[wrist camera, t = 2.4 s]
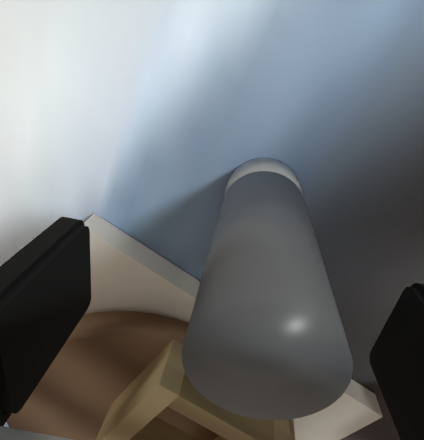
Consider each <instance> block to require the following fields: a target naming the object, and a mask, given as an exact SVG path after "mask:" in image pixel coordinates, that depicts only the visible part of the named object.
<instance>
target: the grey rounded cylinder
mask: <svg viewBox="0 0 424 440" xmlns="http://www.w3.org/2000/svg"><path fill="white" fill-rule="evenodd" d="M182 363H183V367H184V370H185V373H186V375H187V377H188V379H189V380H190V382H191V383H192V385H193V386H194V387H195V388H196V390H198V391H199V392H200V393H201V394H202V395H203V396H204V397H205V398H207V399H208V400H209V401H211V402H212V403H214V404H215V405H217V406H219V407H221V408H223V409H225V410H227V411H230V412H232V413H235V414H238V415H241V416H245V417H250V418H255V419H262V420H289V419H296V418H301V417H305V416H308V415H312V414H314V413H317V412H319V411H321V410H323V409H325V408H327V407H329V406H330V405H331V404H333V403H334V402H335V401H337V400H338V399H339V398H340V397H341V396H342V395H343V393H344V392H345V391H346V389H347V388H348V386H349V384H350V382H351V378H352V375H353V358H352V355H351V351H350V348H349V345H348V341H347V338H346V335H345V332H344V328H343V325H342V322H341V319H340V315H339V312H338V309H337V305H336V302H335V299H334V296H333V292H332V289H331V286H330V282H329V279H328V276H327V273H326V269H325V266H324V263H323V260H322V256H321V253H320V250H319V246H318V243H317V240H316V237H315V233H314V230H313V227H312V223H311V220H310V217H309V214H308V210H307V207H306V204H305V201H304V197H303V194H302V191H301V187H300V184H299V181H298V178H297V176H296V175H295V173H294V172H293V171H292V169H291V168H290V167H288V166H287V165H286V164H284V163H283V162H281V161H278V160H275V159H271V158H256V159H252V160H249V161H247V162H245V163H243V164H242V165H240V166H239V167H238V168H237V169H236V170H235V171H234V172H233V173H232V175H231V176H230V178H229V180H228V183H227V187H226V190H225V194H224V198H223V201H222V205H221V209H220V212H219V216H218V220H217V223H216V227H215V231H214V234H213V238H212V242H211V245H210V249H209V253H208V256H207V260H206V263H205V267H204V271H203V274H202V278H201V282H200V285H199V289H198V293H197V296H196V300H195V304H194V307H193V311H192V315H191V318H190V322H189V326H188V329H187V333H186V337H185V340H184V344H183V349H182Z"/></svg>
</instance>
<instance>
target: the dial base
mask: <svg viewBox="0 0 424 440" xmlns="http://www.w3.org/2000/svg"><path fill="white" fill-rule="evenodd" d="M84 225H85V226H88V227H89V230H90V265H91V302H90V305H89V307H88V309H87V311H86V312H85V314H90V313H96V312H106V311H134V312H143V313H152V314H157V315H162V316H166V317H171V318H175V319H178V320H181V321H185V322H188V323H189V322H190V318H191V315H192V311H193V307H194V304H195V300H196V296H197V293H198V289H199V285H200V281H199V280H197V279H196V278H194V277H192V276H191V275H189V274H188V273H186V272H185V271H183V270H182V269H180V268H178V267H177V266H175V265H174V264H172V263H171V262H169V261H168V260H166V259H164V258H163V257H161V256H160V255H158V254H157V253H155V252H154V251H152V250H150V249H149V248H147V247H146V246H144V245H143V244H141V243H140V242H138V241H137V240H135V239H133V238H132V237H130V236H129V235H127V234H126V233H124V232H123V231H121V230H119V229H118V228H116V227H115V226H113V225H112V224H110V223H109V222H107V221H105V220H104V219H102V218H101V217H99V216H98V215H96V214H95V213H94V214H93V215H92V216H91V217H89V218H88V219H87V220H86V221H85V222H84ZM85 314H84V315H85ZM382 417H383V416H382V413H381V410H380V407H379V404H378V401H377V398H376V395H375V394H374V393H373V392H371V391H370V390H368V389H366V388H365V387H363V386H362V385H360V384H359V383H357V382H356V381H354V380H352V379H351V382H350V384H349V386H348V388H347V389H346V391H345V392H344V393H343V395H342V396H341V397H340V398H339V399H338V400H337V401H335V402H334V403H333V404H331V405H330V406H329V407H327V408H325V409H323V410H321V411H319V412H317V413H314V414H312V415H308V416H305V417H301V418H296V419H293V420H294V431H295V440H341V439H343V438H344V437H346V436H348V435H350V434H352V433H354V432H356V431H358V430H359V429H361V428H363V427H365V426H367V425H369V424H371V423H373V422H374V421H376V420H378V419H380V418H382Z"/></svg>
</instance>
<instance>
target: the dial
mask: <svg viewBox="0 0 424 440" xmlns="http://www.w3.org/2000/svg"><path fill="white" fill-rule="evenodd" d="M188 326H189V323H188V322H185V321H181V320H178V319H175V318H171V317H166V316H162V315H157V314H152V313H143V312H134V311H106V312H96V313H90V314H85V315H83V317H82V318H81V320H80V321H79V323H78V324H77V326H76V327H75V329H74V330H73V332H72V333H71V335H70V336H69V338H68V339H67V341H66V343H65V344H64V346H63V347H62V349H61V350H60V352H59V353H58V355H57V356H56V358H55V359H54V361H53V362H52V364H51V365H50V367H49V368H48V370H47V371H46V373H45V374H44V376H43V377H42V379H41V380H40V382H39V383H38V385H37V386H36V388H35V389H34V391H33V392H32V394H31V395H30V397H29V399H28V400H27V402H26V403H25V405H24V406H23V407H22V409H21V410H20V411H19V412H18V413H16V414H14V413H12V414H11V415H10V417H9V418H8V420H7V423H8V425H9V427H10V428H14V429H20V430H25V431H31V432H36V433H42V434H47V435H53V436H58V437H63V438H68V439H73V440H295V431H294V420H293V419H289V420H262V419H255V418H250V417H245V416H241V415H238V414H235V413H232V412H230V411H227V410H225V409H223V408H221V407H219V406H217V405H215V404H214V403H212V402H211V401H209V400H208V399H207V398H205V397H204V396H203V395H202V394H201V393H200V392H199V391H198V390H196V388H195V387H194V386H193V385H192V383H191V382H190V380H189V379H188V377H187V375H186V373H185V370H184V367H183V363H182V349H183V344H184V340H185V337H186V333H187V329H188Z"/></svg>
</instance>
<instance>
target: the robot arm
mask: <svg viewBox="0 0 424 440" xmlns="http://www.w3.org/2000/svg"><path fill="white" fill-rule="evenodd" d="M90 302H91V265H90V230H89V227H88V226H85V225H84V222H83V221H82V220H77V219H72V218H66V217H61V218H59V219H58V220H57V221H56V222H54V223H53V224H52V225H51V226H50V227H48V228H47V229H46V230H45V231H43V232H42V233H41V234H40V235H38V236H37V237H36V238H35V239H34V240H32V241H31V242H30V243H29V244H27V245H26V246H25V247H24V248H22V249H21V250H20V251H19V252H18V253H16V254H15V255H14V256H13V257H11V258H10V259H9V260H8V261H6V262H5V263H4V264H3V265H2V266H0V440H73V439H68V438H63V437H58V436H53V435H47V434H42V433H36V432H31V431H25V430H20V429H14V428H9V427H3V425H4V424H5V423H6V421H7V420H8V418H9V417H10V415H11V414H12V413H14V414H16V413H18V412H19V411H20V410H21V409H22V407H23V406H24V405H25V403H26V402H27V400H28V399H29V397H30V395H31V394H32V392H33V391H34V389H35V388H36V386H37V385H38V383H39V382H40V380H41V379H42V377H43V376H44V374H45V373H46V371H47V370H48V368H49V367H50V365H51V364H52V362H53V361H54V359H55V358H56V356H57V355H58V353H59V352H60V350H61V349H62V347H63V346H64V344H65V343H66V341H67V339H68V338H69V336H70V335H71V333H72V332H73V330H74V329H75V327H76V326H77V324H78V323H79V321H80V320H81V318H82V317H83V315H84V314H85V312H86V311H87V309H88V307H89V305H90ZM370 364H371V367H372V369H373V372H374V374H375V377H376V379H377V382H378V384H379V387H380V389H381V392H382V394H383V397H384V399H385V402H386V404H387V406H388V409H389V411H390V414H391V416H392V419H393V421H394V424H395V426H396V429H397V431H398V434H399V436H400V439H401V440H424V285H423V284H418V283H415V284H413V285H411V286H410V287H406V288H405V289H404V291H403V292H402V294H401V296H400V298H399V300H398V302H397V303H396V305H395V307H394V309H393V311H392V313H391V315H390V316H389V318H388V320H387V322H386V324H385V326H384V328H383V329H382V331H381V333H380V335H379V337H378V339H377V340H376V342H375V344H374V346H373V348H372V350H371V352H370Z"/></svg>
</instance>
